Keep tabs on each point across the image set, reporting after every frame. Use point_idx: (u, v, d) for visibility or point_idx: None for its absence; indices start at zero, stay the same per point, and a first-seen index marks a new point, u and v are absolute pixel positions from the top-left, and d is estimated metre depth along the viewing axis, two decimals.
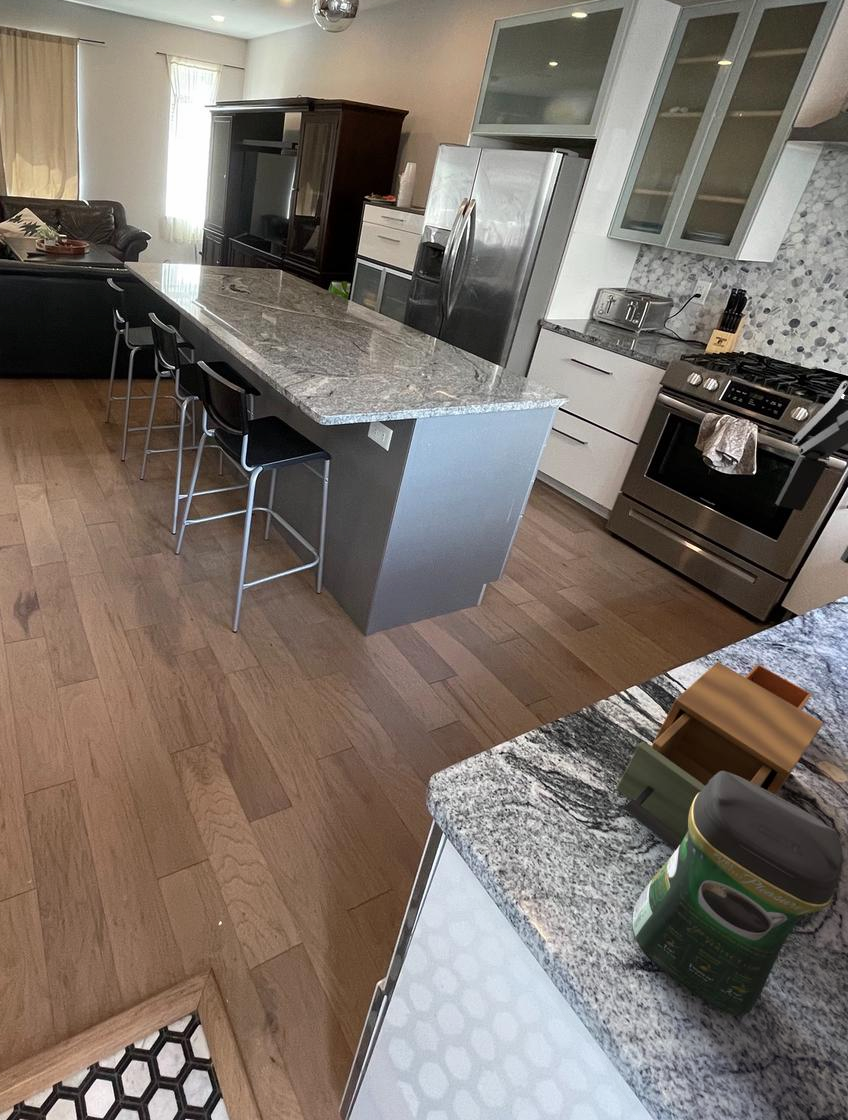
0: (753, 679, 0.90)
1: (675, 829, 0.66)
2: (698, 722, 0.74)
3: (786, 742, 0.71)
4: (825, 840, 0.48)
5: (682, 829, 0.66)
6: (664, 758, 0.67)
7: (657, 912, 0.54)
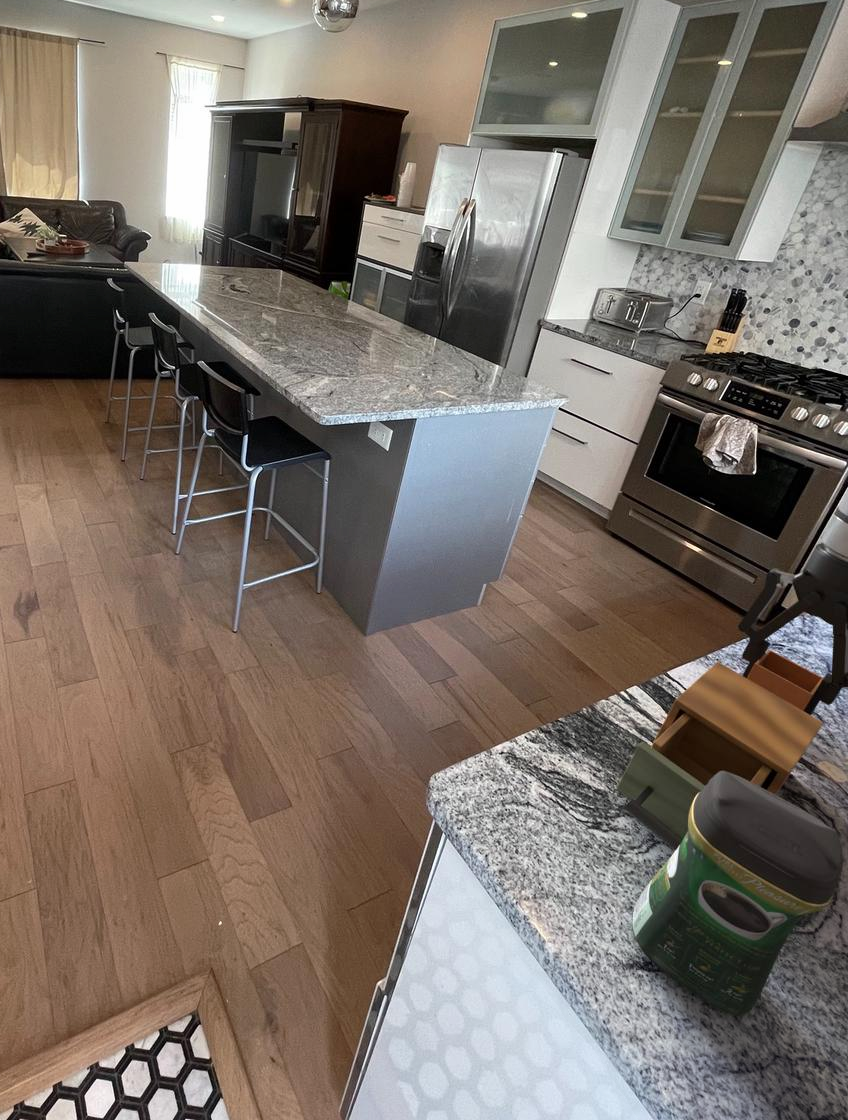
0: (764, 665, 0.89)
1: (675, 829, 0.66)
2: (698, 722, 0.74)
3: (786, 742, 0.71)
4: (825, 840, 0.48)
5: (682, 829, 0.66)
6: (664, 758, 0.67)
7: (657, 912, 0.54)
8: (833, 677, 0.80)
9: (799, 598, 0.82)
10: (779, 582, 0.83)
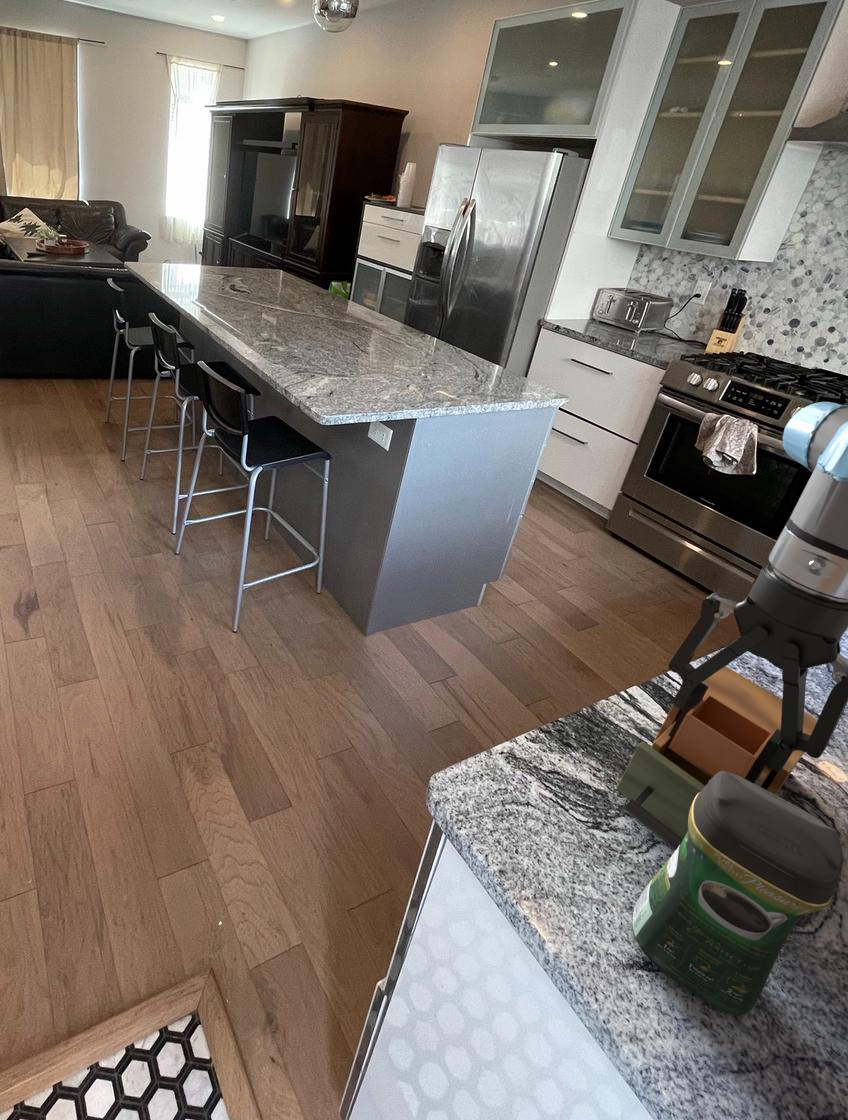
0: (702, 712, 0.71)
1: (675, 829, 0.66)
2: None
3: None
4: (825, 840, 0.48)
5: (682, 829, 0.66)
6: (664, 758, 0.67)
7: (657, 912, 0.54)
8: (782, 737, 0.62)
9: (742, 633, 0.63)
10: (718, 611, 0.65)
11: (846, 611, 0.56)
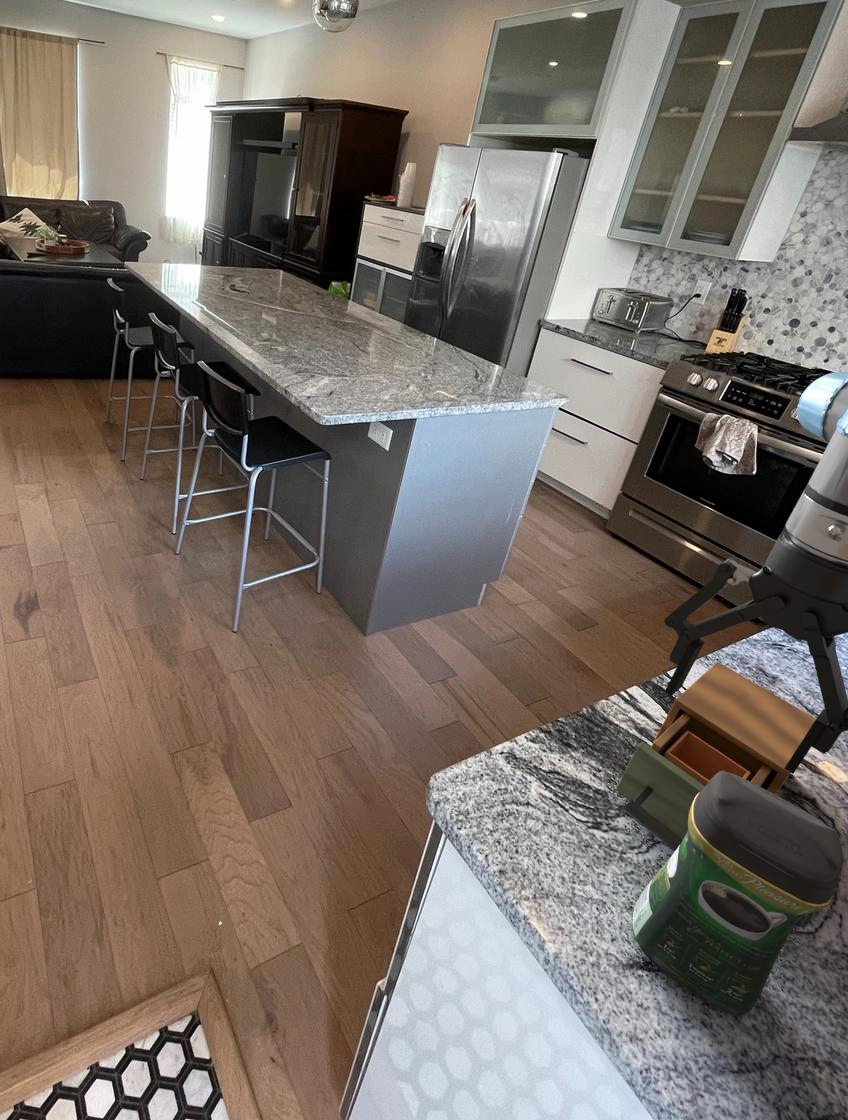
0: (682, 749, 0.73)
1: (675, 830, 0.66)
2: (698, 722, 0.74)
3: (786, 742, 0.71)
4: (825, 840, 0.48)
5: (681, 830, 0.66)
6: (663, 759, 0.67)
7: (657, 912, 0.54)
8: (829, 717, 0.59)
9: (755, 600, 0.62)
10: (732, 577, 0.64)
11: None
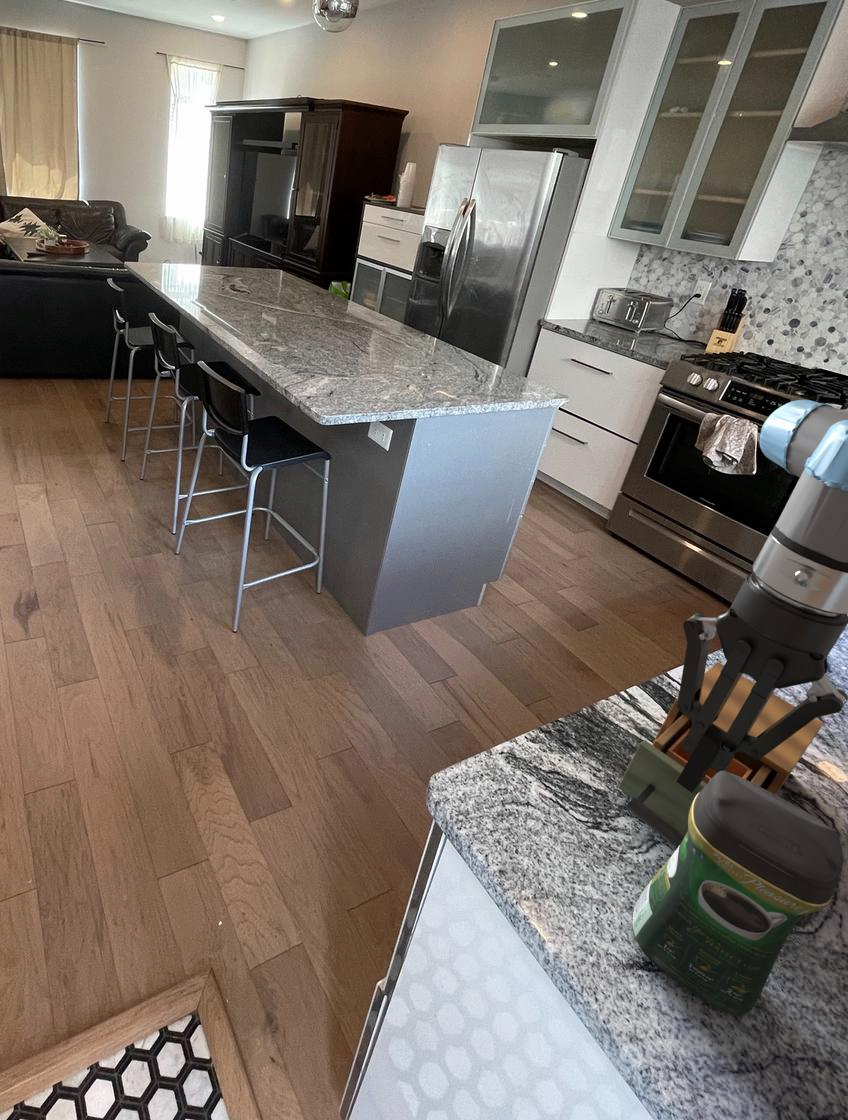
0: None
1: (677, 827, 0.67)
2: None
3: (786, 742, 0.71)
4: (825, 840, 0.48)
5: (684, 827, 0.66)
6: (666, 756, 0.67)
7: (657, 912, 0.54)
8: (726, 737, 0.60)
9: (728, 654, 0.59)
10: (702, 632, 0.61)
11: (834, 626, 0.52)
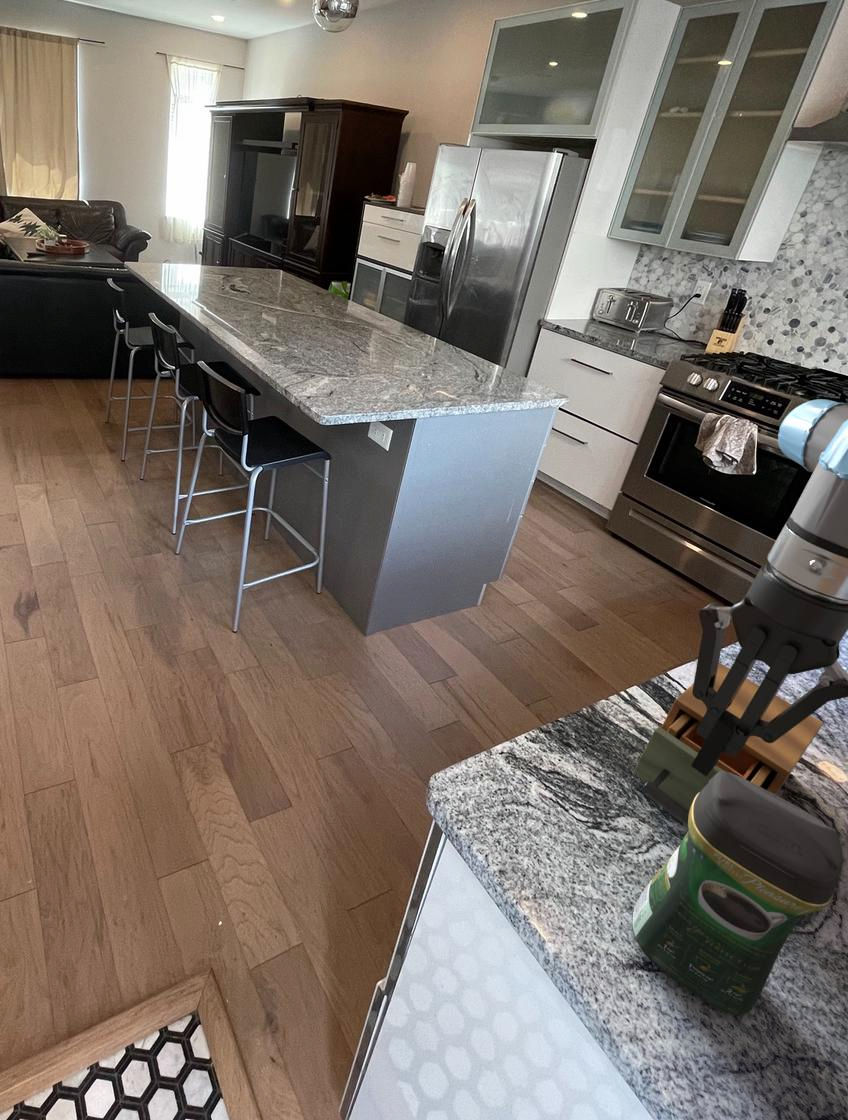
0: (696, 734, 0.76)
1: None
2: None
3: (786, 742, 0.71)
4: (825, 840, 0.48)
5: None
6: (680, 742, 0.70)
7: (657, 912, 0.54)
8: (741, 722, 0.62)
9: (743, 641, 0.62)
10: (717, 621, 0.63)
11: (847, 613, 0.54)
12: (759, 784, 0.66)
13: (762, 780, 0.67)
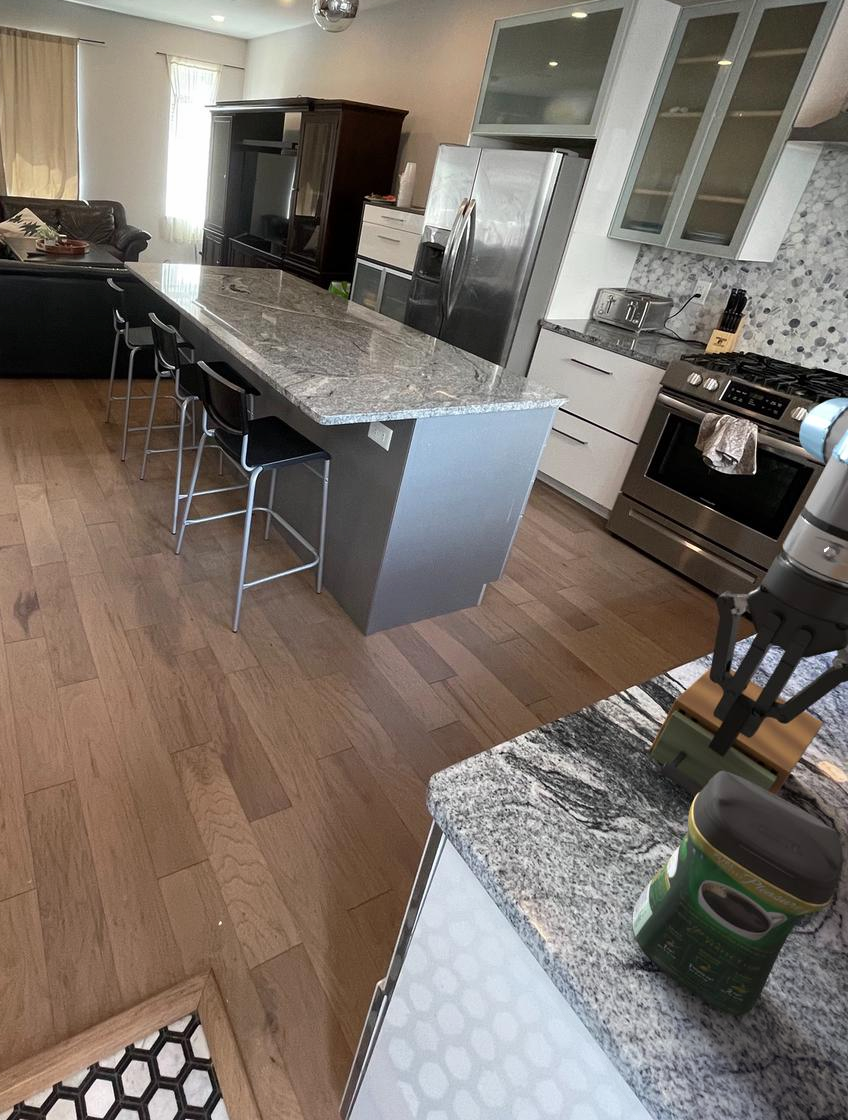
0: None
1: None
2: None
3: (786, 742, 0.71)
4: (825, 840, 0.48)
5: None
6: (696, 725, 0.72)
7: (657, 912, 0.54)
8: (756, 704, 0.65)
9: (759, 626, 0.64)
10: (734, 607, 0.66)
11: None
12: None
13: None
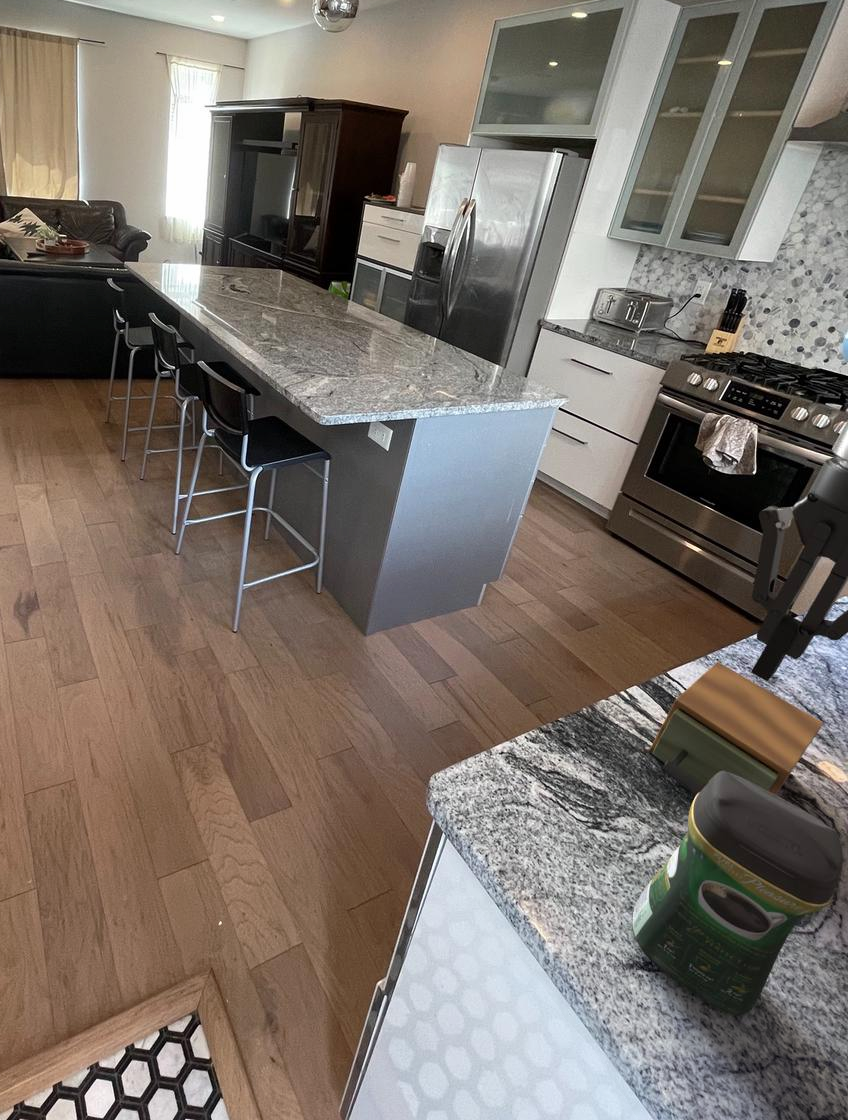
0: None
1: None
2: None
3: (786, 742, 0.71)
4: (825, 840, 0.48)
5: None
6: (698, 723, 0.73)
7: (657, 912, 0.54)
8: (804, 622, 0.61)
9: (806, 539, 0.61)
10: (778, 521, 0.62)
11: None
12: None
13: None
